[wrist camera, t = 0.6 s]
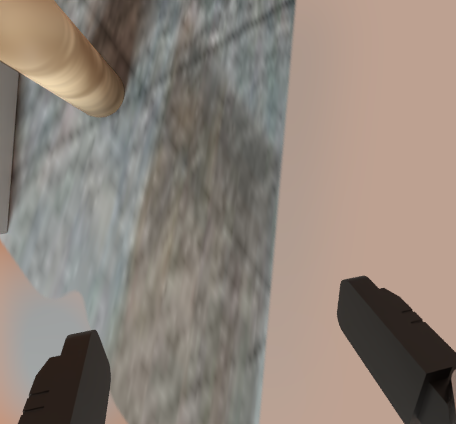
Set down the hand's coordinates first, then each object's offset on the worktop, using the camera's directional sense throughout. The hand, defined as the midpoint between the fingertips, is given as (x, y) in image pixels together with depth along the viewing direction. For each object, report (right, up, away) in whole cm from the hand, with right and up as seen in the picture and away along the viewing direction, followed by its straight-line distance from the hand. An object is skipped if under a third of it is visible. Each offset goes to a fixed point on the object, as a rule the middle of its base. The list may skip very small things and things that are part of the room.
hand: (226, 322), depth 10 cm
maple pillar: (-13, +16, +21) cm, 29 cm away
